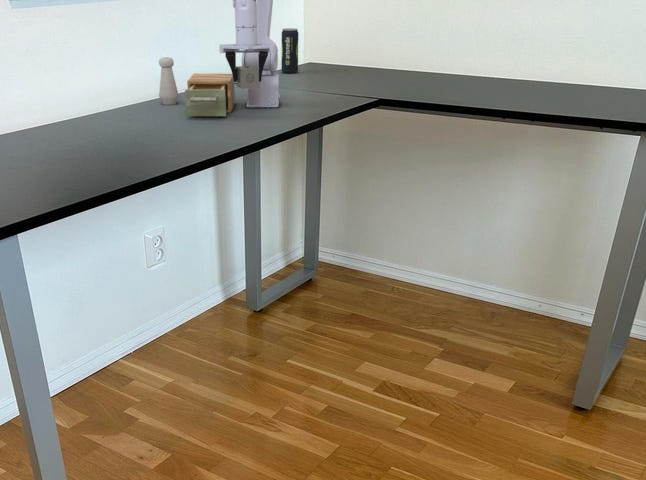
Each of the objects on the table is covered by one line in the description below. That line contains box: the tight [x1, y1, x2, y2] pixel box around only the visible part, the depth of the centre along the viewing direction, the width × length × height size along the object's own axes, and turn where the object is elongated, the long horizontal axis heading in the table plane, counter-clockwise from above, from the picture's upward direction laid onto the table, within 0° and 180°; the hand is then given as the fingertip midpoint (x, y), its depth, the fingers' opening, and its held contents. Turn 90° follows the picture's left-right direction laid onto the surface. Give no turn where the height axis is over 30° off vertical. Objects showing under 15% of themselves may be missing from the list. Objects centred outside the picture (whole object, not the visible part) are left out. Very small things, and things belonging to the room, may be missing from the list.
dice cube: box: [235, 65, 259, 90], centre depth 193 cm, size 5×5×5 cm
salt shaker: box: [158, 56, 179, 106], centre depth 211 cm, size 6×6×13 cm
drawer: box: [184, 84, 227, 117], centre depth 195 cm, size 18×11×7 cm, turn 178°
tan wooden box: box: [186, 73, 236, 114], centre depth 206 cm, size 14×12×9 cm
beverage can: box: [281, 27, 299, 75], centre depth 262 cm, size 6×6×15 cm
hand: (247, 81), depth 193 cm, fingers closed on dice cube, 6 cm apart
